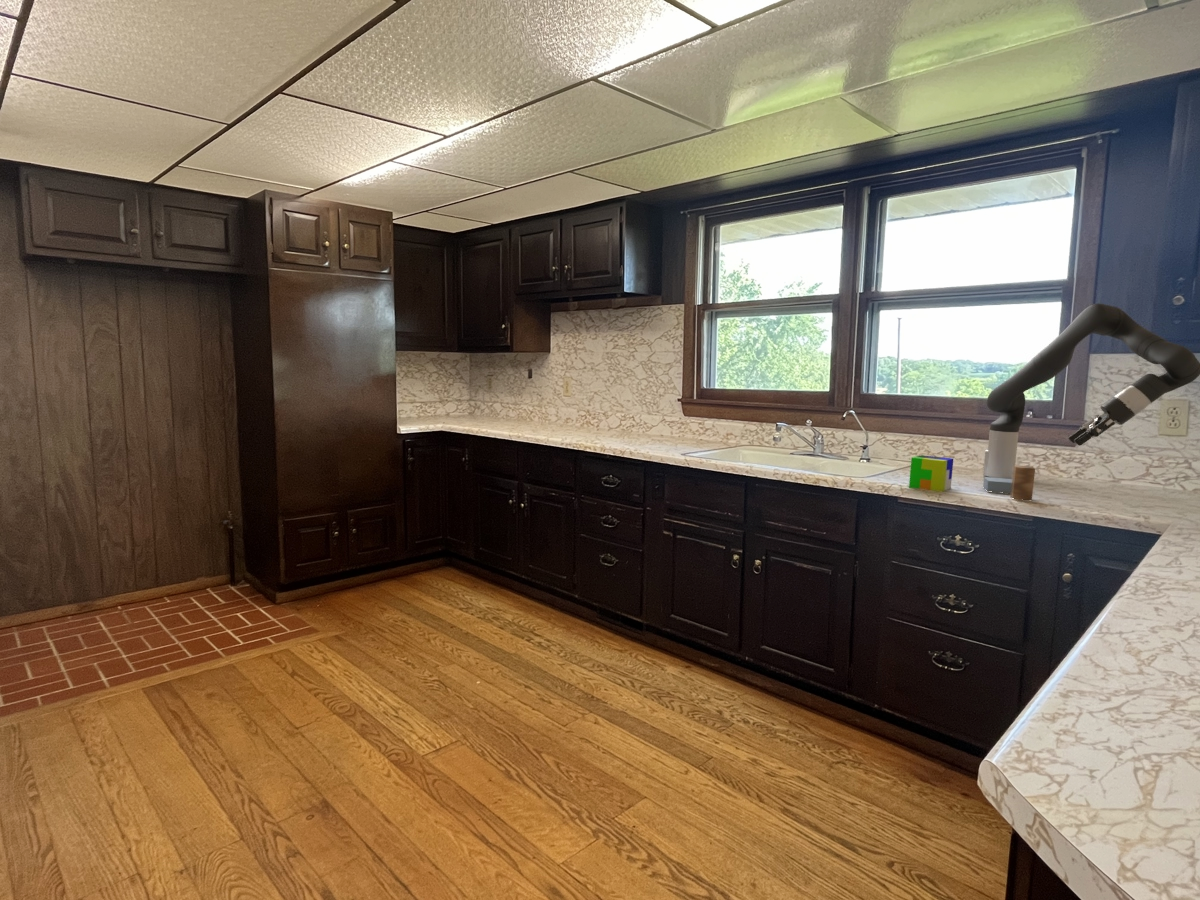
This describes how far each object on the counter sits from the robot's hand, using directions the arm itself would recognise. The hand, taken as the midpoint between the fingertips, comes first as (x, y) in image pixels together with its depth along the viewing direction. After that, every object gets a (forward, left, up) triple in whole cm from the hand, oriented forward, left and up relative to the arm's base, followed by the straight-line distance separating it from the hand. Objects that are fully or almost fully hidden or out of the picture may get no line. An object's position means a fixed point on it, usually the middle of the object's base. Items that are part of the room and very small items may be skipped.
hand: (1073, 442), depth 200 cm
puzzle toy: (-35, -13, -19) cm, 42 cm away
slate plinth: (-20, +3, -19) cm, 28 cm away
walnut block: (-10, -6, -19) cm, 22 cm away
